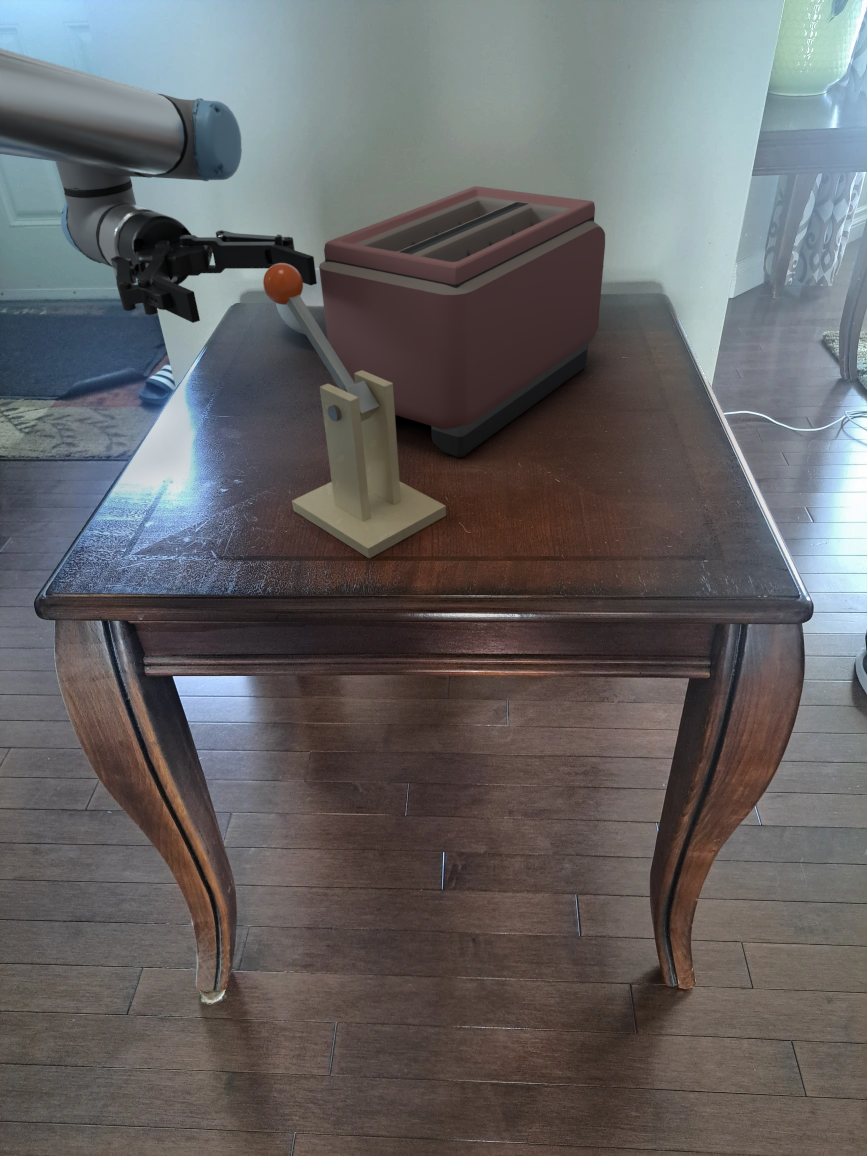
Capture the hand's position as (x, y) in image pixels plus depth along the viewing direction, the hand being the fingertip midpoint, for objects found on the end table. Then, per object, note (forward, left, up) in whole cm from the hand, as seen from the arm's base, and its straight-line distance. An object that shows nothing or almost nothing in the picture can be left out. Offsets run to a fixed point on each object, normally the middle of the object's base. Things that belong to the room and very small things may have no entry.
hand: (255, 288), depth 80 cm
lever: (+8, -2, -4) cm, 9 cm away
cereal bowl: (-18, +35, -20) cm, 44 cm away
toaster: (+10, +27, -20) cm, 35 cm away
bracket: (+14, -4, -19) cm, 24 cm away
